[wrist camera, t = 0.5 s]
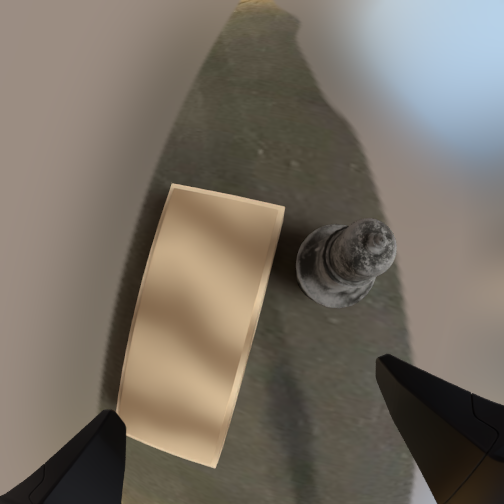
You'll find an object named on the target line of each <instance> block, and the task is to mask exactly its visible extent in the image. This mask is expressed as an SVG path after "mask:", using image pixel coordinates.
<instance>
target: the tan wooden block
mask: <svg viewBox="0 0 504 504" xmlns="http://www.w3.org/2000/svg"><path fill="white" fill-rule="evenodd" d="M284 211H285V207H283V206H279V205H275V204H270V203H266V202H261V201H257V200H252V199H248V198H243V197H239V196H234V195H229V194H224V193H219V192H214V191H209V190H204V189H199V188H194V187H189V186H183V185H178V184H172V185H171V188H170V191H169V194H168V197H167V200H166V203H165V206H164V209H163V212H162V215H161V218H160V221H159V224H158V227H157V230H156V234H155V237H154V240H153V244H152V247H151V250H150V254H149V257H148V261H147V264H146V268H145V272H144V275H143V279H142V283H141V287H140V291H139V295H138V299H137V303H136V307H135V311H134V316H133V320H132V324H131V329H130V334H129V338H128V343H127V348H126V354H125V359H124V364H123V370H122V376H121V382H120V388H119V395H118V402H117V409H116V413H117V414H118V415H119V417H120V418H121V419H122V420H123V422H124V423H125V425H126V435H127V436H129V437H131V438H134V439H136V440H138V441H140V442H143V443H145V444H147V445H150V446H152V447H155V448H157V449H160V450H162V451H165V452H167V453H170V454H173V455H176V456H178V457H181V458H184V459H187V460H190V461H193V462H196V463H200V464H203V465H206V466H209V467H213V468H216V465H217V463H218V460H219V457H220V454H221V451H222V448H223V446H224V442H225V439H226V435H227V432H228V428H229V425H230V421H231V418H232V415H233V411H234V407H235V404H236V400H237V397H238V393H239V390H240V386H241V382H242V379H243V375H244V372H245V368H246V364H247V361H248V357H249V353H250V349H251V346H252V342H253V338H254V334H255V331H256V327H257V323H258V319H259V315H260V312H261V308H262V304H263V300H264V296H265V292H266V288H267V284H268V280H269V276H270V272H271V268H272V264H273V260H274V256H275V252H276V248H277V244H278V240H279V236H280V232H281V228H282V224H283V217H284Z"/></svg>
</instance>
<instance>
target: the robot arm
mask: <svg viewBox="0 0 504 504" xmlns="http://www.w3.org/2000/svg"><path fill="white" fill-rule="evenodd" d="M376 380H377V383H378V385H379V388H380V390H381V392H382V395H383V397H384V400H385V402H386V405H387V407H388V410H389V412H390V415H391V417H392V419H393V421H394V423H395V425H396V426H397V428H398V430H399V432H400V434H401V436H402V437H403V439H404V441H405V443H406V445H407V447H408V448H409V450H410V452H411V454H412V456H413V458H414V460H415V461H416V463H417V465H418V467H419V469H420V471H421V473H422V475H423V477H424V478H425V480H426V482H427V484H428V486H429V488H430V490H431V492H432V494H433V496H434V498H435V500H436V502H437V504H504V405H501V404H498V403H495V402H493V401H490V400H488V399H485V398H483V397H480V396H478V395H476V394H473V393H472V394H471V392H469V391H466V390H465V389H462V388H460V387H458V386H456V385H454V384H451V383H449V382H447V381H445V380H443V379H441V378H438V377H436V376H434V375H432V374H430V373H428V372H426V371H424V370H421V369H419V368H417V367H415V366H413V365H411V364H409V363H407V362H405V361H403V360H401V359H399V358H397V357H395V356H392V355H390V354H385V355H382V356H380V357H378V358H377V359H376ZM125 460H126V425H125V423H124V422H123V420H122V419H121V418H120V417H119V415H118V414H117V413H116V411H114V410H103V411H102V412H101V413H99V414H98V415H97V416H96V417H95V418H94V419H93V420H92V421H91V422H90V423H89V424H88V425H86V426H85V427H84V428H83V429H82V430H81V431H80V432H79V433H78V434H77V435H75V436H74V437H73V438H72V439H71V440H70V441H69V442H68V443H67V444H66V445H64V446H63V447H62V448H61V449H60V450H59V451H58V452H57V453H56V454H54V456H52V457H51V458H50V459H49V460H48V461H47V462H46V463H45V464H43V465H42V466H41V467H40V468H39V469H38V470H36V471H35V472H34V473H33V474H32V475H31V476H29V477H28V478H27V479H25V480H24V481H23V482H21V483H20V484H19V485H17V486H16V487H14V488H13V489H11V490H10V491H9V492H7V493H6V494H4V495H2V496H0V504H121V499H122V489H123V480H124V471H125Z"/></svg>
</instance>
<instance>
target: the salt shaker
mask: <svg viewBox="0 0 504 504" xmlns="http://www.w3.org/2000/svg"><path fill="white" fill-rule="evenodd" d="M396 248H397V245H396V240H395V237H394V235H393V233H392V231H391V230H390V229H389V227H388V226H387V225H385V224H384V223H383V222H381V221H379V220H377V219H371V218H367V219H360V220H358V221H356V222H354V223H352V224H351V225H350V226H346V225H340V224H331V225H325V226H323V227H320V228H318V229H316V230H314V231H313V232H312V233H310V234H309V235H308V236H307V237H306V239H305V240H304V241H303V243H302V244H301V246H300V249H299V251H298V254H297V260H296V277H297V281H298V284H299V286H300V288H301V289H302V291H303V292H304V293H305V295H307V296H308V297H309V298H311V299H312V300H314V301H315V302H317V303H319V304H321V305H324V306H326V307H332V308H343V307H349V306H351V305H353V304H355V303H357V302H359V301H360V300H361V299H363V298H364V297H365V296H366V295H367V294H368V292H369V291H370V289H371V288H372V286H373V283H374V281H375V278H376V276H378V275H380V274H382V273H384V272H385V271H386V270H387V269H388V268H389V267H390V266H391V264H392V263H393V261H394V259H395V256H396Z"/></svg>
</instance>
